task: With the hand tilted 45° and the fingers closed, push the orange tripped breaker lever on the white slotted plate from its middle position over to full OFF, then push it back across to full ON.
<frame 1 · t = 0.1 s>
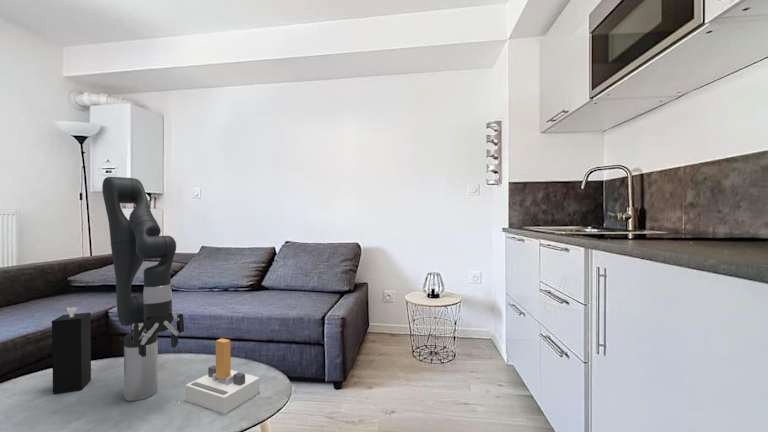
hand: (159, 351, 108), 17 cm above the table, tool pointing down, fingers open, 8 cm apart
tripped breaker handle: (223, 359, 114), point 12 cm above the table, hinge at 0.0°
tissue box: (72, 387, 120), on the table
white slotted plate: (223, 396, 114), on the table
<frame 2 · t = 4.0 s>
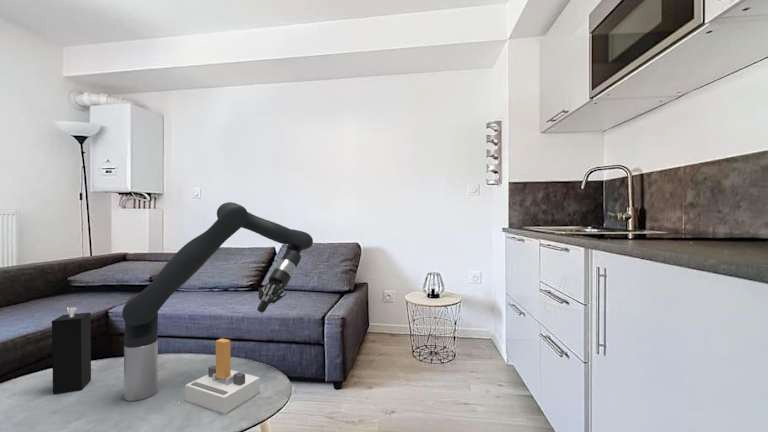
hand: (260, 311, 128), 24 cm above the table, tool tilted 45°, fingers closed
nothing on the table moved.
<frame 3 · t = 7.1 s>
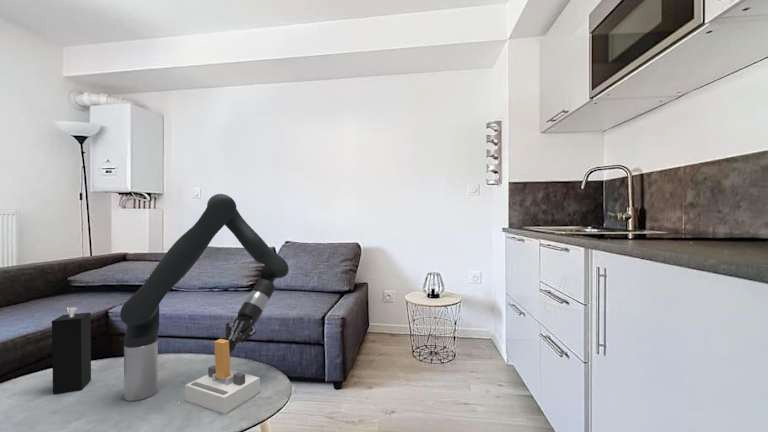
hand: (226, 352, 115), 14 cm above the table, tool tilted 45°, fingers closed
tripped breaker handle: (222, 360, 113), point 12 cm above the table, hinge at 2.7°, touching gripper
everything else where it was.
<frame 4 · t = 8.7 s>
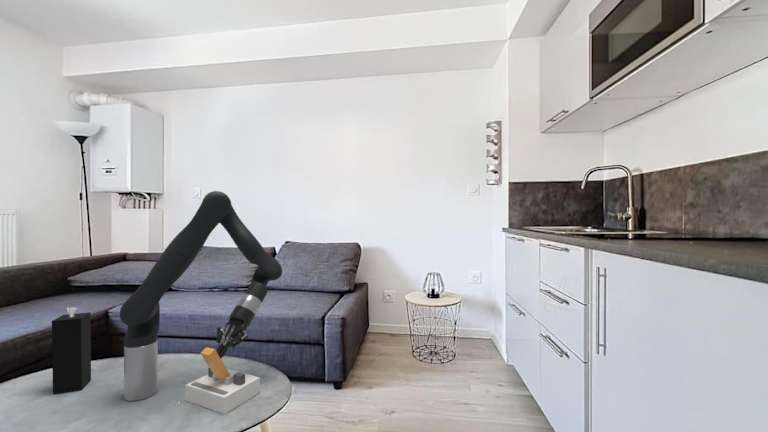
hand: (217, 358, 112), 14 cm above the table, tool tilted 45°, fingers closed
tripped breaker handle: (216, 365, 111), point 11 cm above the table, hinge at 28.3°, touching gripper
everything else where it was.
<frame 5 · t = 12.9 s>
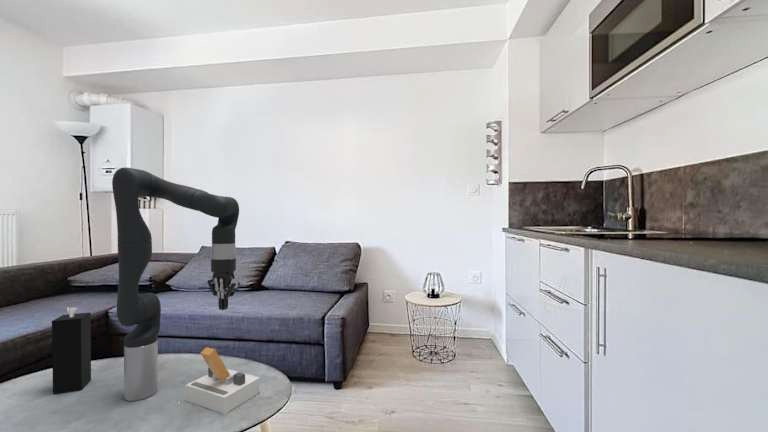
hand: (223, 309, 114), 29 cm above the table, tool pointing down, fingers closed
tripped breaker handle: (216, 365, 111), point 11 cm above the table, hinge at 28.4°
everything else where it was.
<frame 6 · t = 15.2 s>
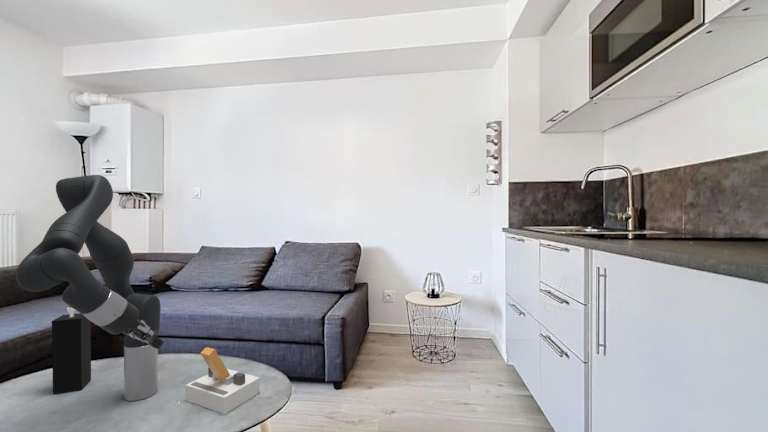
hand: (159, 345, 95), 24 cm above the table, tool tilted 45°, fingers closed
nothing on the table moved.
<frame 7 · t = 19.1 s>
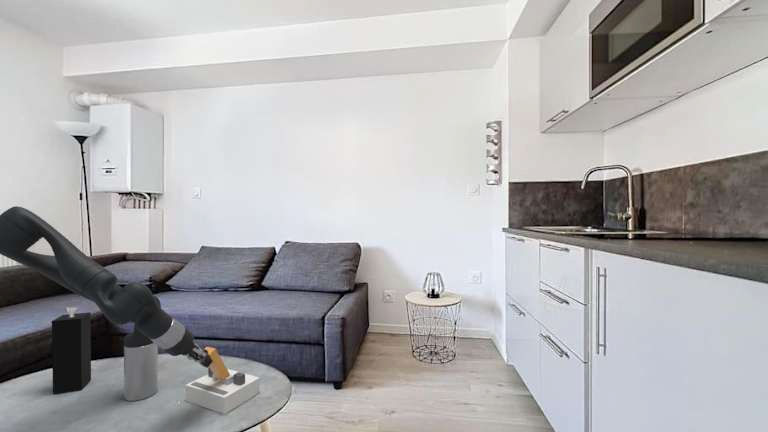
hand: (208, 364, 108), 13 cm above the table, tool tilted 45°, fingers closed
tripped breaker handle: (216, 364, 111), point 11 cm above the table, hinge at 27.4°, touching gripper
everything else where it was.
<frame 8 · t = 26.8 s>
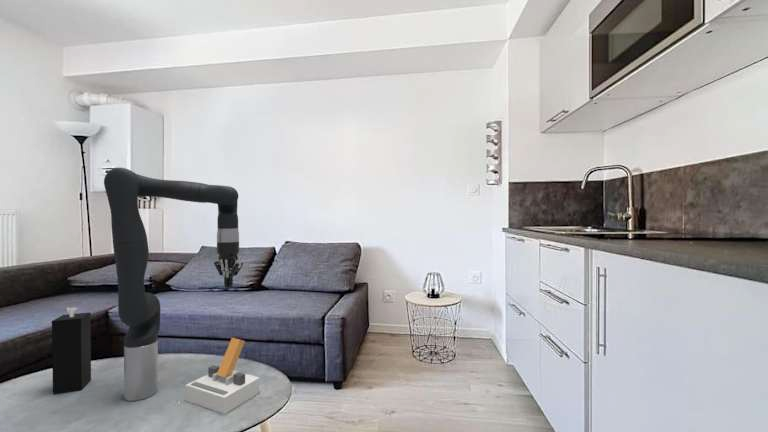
hand: (228, 287, 128), 33 cm above the table, tool pointing down, fingers closed
tripped breaker handle: (230, 359, 116), point 11 cm above the table, hinge at -31.4°
everything else where it was.
at the end: tripped breaker handle at -31° (first picture: +0°); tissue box moved 0.2 cm from its start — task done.
